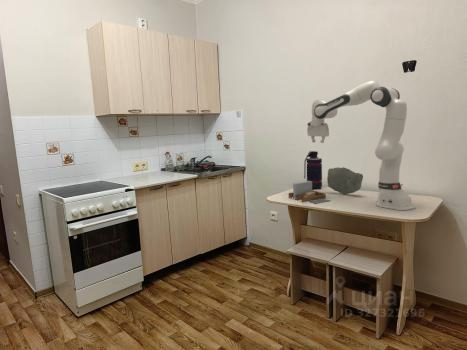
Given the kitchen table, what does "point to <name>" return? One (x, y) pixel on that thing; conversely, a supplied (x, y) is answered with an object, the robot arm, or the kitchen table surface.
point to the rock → (344, 180)
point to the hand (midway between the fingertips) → (317, 142)
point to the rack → (317, 196)
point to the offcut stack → (308, 194)
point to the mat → (319, 201)
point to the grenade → (314, 169)
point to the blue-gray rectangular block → (302, 188)
